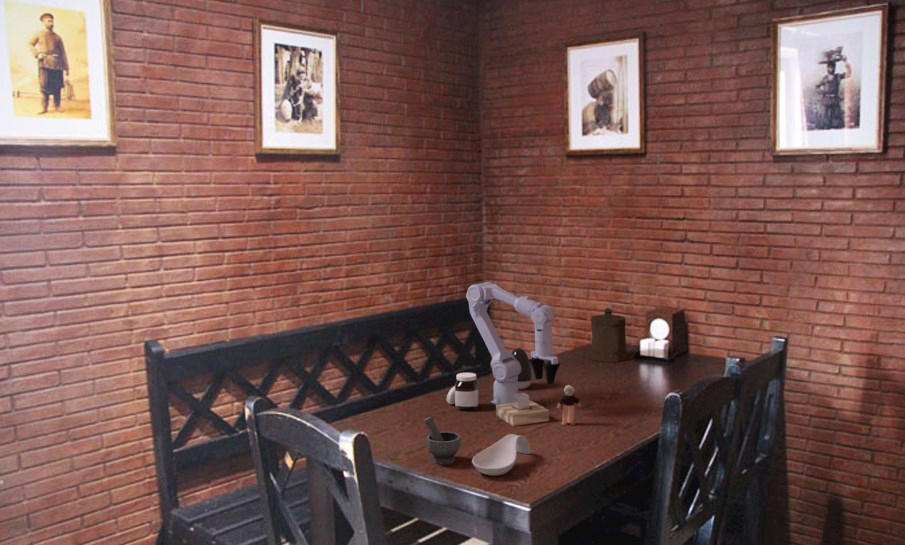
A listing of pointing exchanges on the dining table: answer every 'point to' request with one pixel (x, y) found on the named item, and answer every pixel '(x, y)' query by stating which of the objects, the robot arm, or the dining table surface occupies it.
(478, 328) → the robot arm
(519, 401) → the steel peg
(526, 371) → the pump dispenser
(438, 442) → the mortar and pestle
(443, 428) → the dining table surface
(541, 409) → the maple hole block
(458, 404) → the spread jar
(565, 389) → the grandmother figurine
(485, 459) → the spoon rest
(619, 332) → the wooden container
